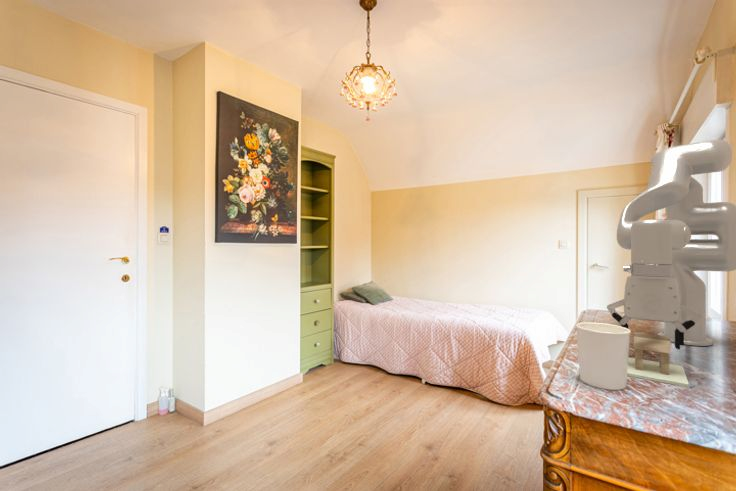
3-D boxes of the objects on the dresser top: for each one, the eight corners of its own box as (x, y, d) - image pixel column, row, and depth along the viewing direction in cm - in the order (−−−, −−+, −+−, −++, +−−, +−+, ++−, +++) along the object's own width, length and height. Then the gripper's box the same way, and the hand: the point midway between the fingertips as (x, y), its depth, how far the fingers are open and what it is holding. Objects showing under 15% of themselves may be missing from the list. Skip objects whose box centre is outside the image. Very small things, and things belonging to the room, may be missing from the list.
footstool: (633, 369, 80) (633, 337, 80) (634, 361, 85) (633, 332, 85) (670, 375, 76) (670, 342, 76) (668, 367, 81) (668, 336, 81)
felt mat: (620, 358, 90) (620, 356, 90) (682, 368, 82) (682, 366, 82) (618, 373, 79) (618, 371, 79) (689, 387, 72) (689, 384, 72)
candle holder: (566, 377, 77) (566, 324, 77) (594, 371, 81) (594, 320, 81) (611, 395, 68) (611, 335, 68) (641, 387, 72) (641, 330, 72)
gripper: (605, 270, 83) (605, 341, 83) (704, 274, 72) (704, 355, 72) (607, 269, 89) (607, 335, 89) (699, 272, 78) (699, 347, 78)
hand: (650, 344), depth 81 cm, fingers open, 9 cm apart
